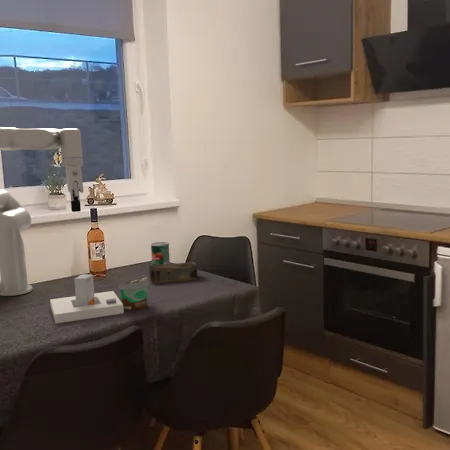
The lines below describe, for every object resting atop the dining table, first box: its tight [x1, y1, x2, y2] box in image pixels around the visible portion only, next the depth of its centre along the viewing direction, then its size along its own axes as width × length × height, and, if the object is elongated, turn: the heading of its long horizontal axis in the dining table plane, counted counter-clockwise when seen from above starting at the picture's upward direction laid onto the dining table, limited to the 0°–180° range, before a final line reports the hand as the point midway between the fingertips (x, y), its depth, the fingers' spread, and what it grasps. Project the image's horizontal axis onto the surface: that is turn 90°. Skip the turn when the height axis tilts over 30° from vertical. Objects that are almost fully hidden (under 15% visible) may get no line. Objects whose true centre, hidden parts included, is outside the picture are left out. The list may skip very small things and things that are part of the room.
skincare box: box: [74, 273, 95, 307], centre depth 188 cm, size 6×4×12 cm
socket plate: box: [49, 290, 125, 324], centre depth 188 cm, size 22×18×4 cm
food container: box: [118, 274, 150, 312], centre depth 188 cm, size 12×6×10 cm, turn 148°
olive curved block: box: [148, 261, 199, 285], centre depth 224 cm, size 8×19×7 cm, turn 104°
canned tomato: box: [150, 241, 171, 265], centre depth 244 cm, size 8×8×11 cm
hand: (76, 211), depth 207 cm, fingers closed
